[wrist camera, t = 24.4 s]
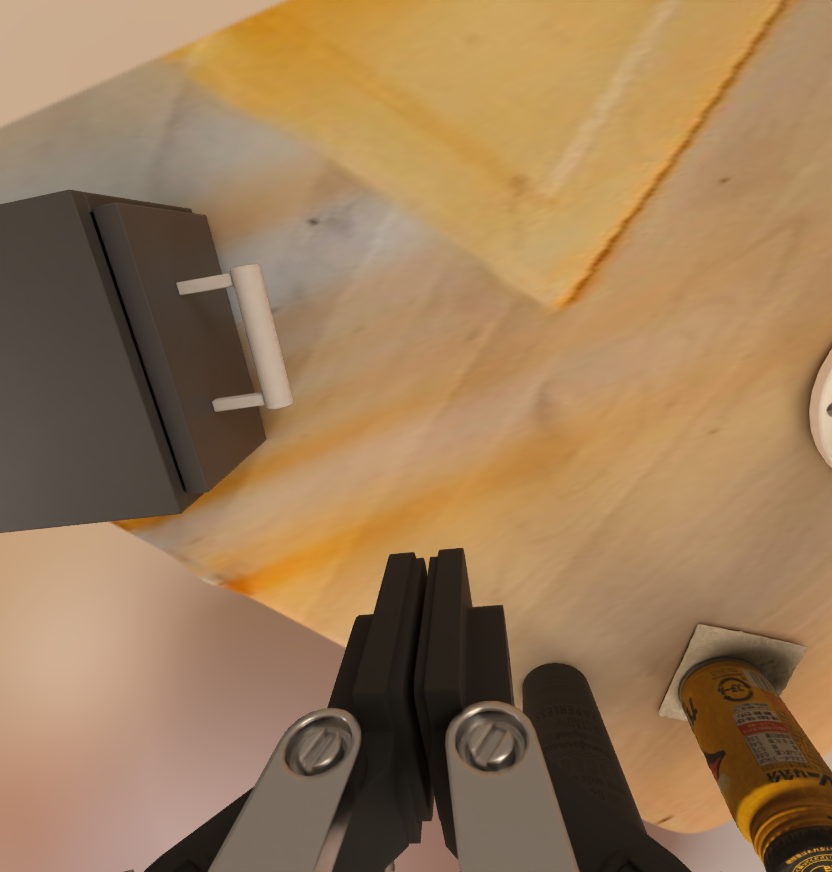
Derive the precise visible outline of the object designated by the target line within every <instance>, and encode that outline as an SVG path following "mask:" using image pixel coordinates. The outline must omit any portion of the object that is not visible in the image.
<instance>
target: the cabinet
mask: <svg viewBox="0 0 832 872" xmlns="http://www.w3.org/2000/svg"><path fill="white" fill-rule="evenodd" d="M111 203H123V204H130V205H137V206H144V207H151V208H158V209H165V210H172V211H179V212H186V213H192V210H191V209H188V208H182V207H175V206H169V205H162V204H156V203H150V202H143V201H137V200H131V199H124V198H118V197H111V196H105V195H99V194H92V193H86V192H80V191H74V190H66V191H61V192H56V193H52V194H47V195H42V196H38V197H33V198H29V199H24V200H19V201H15V202H10V203H5V204H1V205H0V533H4V532H14V531H23V530H32V529H42V528H51V527H61V526H70V525H79V524H89V523H98V522H107V521H117V520H126V519H135V518H145V517H154V516H164V515H173V514H181V513H182V512H183V511H184V510H185V509H187V508H188V506H190V505H191V504H192V503H193V502H195V501H196V500H197V499H198V498H199V497H200V496H201V495H202V494H203V493H195V494H187V491H186V488H185V485H184V482H183V479H182V476H181V473H180V470H178V471H177V470H176V467H175V464H174V461H173V458H172V455H171V452H170V449H169V446H168V443H167V440H166V437H165V434H164V432H163V429H162V426H161V423H160V420H159V417H158V414H157V411H156V408H155V405H154V402H153V399H152V396H151V393H150V390H149V387H148V384H147V381H146V378H145V375H144V372H143V369H142V366H141V363H140V360H139V357H138V354H137V351H136V348H135V345H134V342H133V339H132V336H131V333H130V330H129V327H128V325H127V322H126V319H125V316H124V313H123V310H122V307H121V304H120V301H119V298H118V295H117V292H116V289H115V286H114V283H113V280H112V277H111V274H110V271H109V268H108V265H107V262H106V259H105V256H104V253H103V250H102V247H101V244H100V241H99V238H98V235H97V232H98V233H100V231H99V228H98V225H97V222H96V219H95V216H94V213H93V210H92V208H93V207H96V206H101V205H106V204H111ZM204 493H205V492H204Z"/></svg>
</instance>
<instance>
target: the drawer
mask: <svg viewBox="0 0 832 872" xmlns="http://www.w3.org/2000/svg"><path fill="white" fill-rule="evenodd" d="M92 210H93V213H94V216H95V219H96V222H97V225H98V228H99V231H100V233H98V232H97V235H98V238H99V241H100V244H101V247H102V250H103V253H104V256H105V259H106V262H107V265H108V268H109V271H110V274H111V277H112V280H113V283H114V286H115V289H116V292H117V295H118V298H119V301H120V304H121V307H122V310H123V313H124V316H125V315H128V318H129V321H130V324H131V327H132V330H133V333H134V336H135V339H136V342H137V345H138V348H139V351H140V354H141V357H142V360H143V363H144V366H145V369H146V372H147V375H148V378H149V381H150V384H151V387H152V388H151V389H149V390H150V393H151V396H152V399H153V402H154V405H155V408H156V411H157V414H158V417H159V420H160V423H161V426H162V429H163V432H164V434H165V437H166V440H167V443H168V446H169V449H170V452H171V455H172V458H173V461H174V464H175V467H176V470H177V471H178V470H180V473H181V476H182V479H183V482H184V485H185V488H186V491H187V494H195V493H204V492H209V491H210V490H211V489H213V488H214V487H215V486H216V485H217V484H218V483H219V482H220V481H221V480H222V479H223V478H225V477H226V476H227V475H228V474H229V473H230V472H231V471H232V470H233V469H234V468H235V467H237V466H238V465H239V464H240V463H241V462H242V461H243V460H244V459H245V458H246V457H248V456H249V455H250V454H251V453H252V452H253V451H254V450H255V449H256V448H257V447H258V446H260V445H261V444H262V443H263V442H264V441H265V440H266V435H265V432H264V428H263V424H262V421H261V417H260V413H259V410H258V406H261V405H265V404H266V408H267V409H279V408H283V407H287V406H289V405H291V404H292V403H293V398H292V394H291V390H290V386H289V382H288V378H287V374H286V370H285V366H284V362H283V358H282V354H281V349H280V345H279V341H278V337H277V333H276V329H275V325H274V321H273V317H272V313H271V309H270V305H269V301H268V297H267V293H266V289H265V285H264V281H263V277H262V273H261V268H260V265H259V264H252V265H245V266H239V267H234V268H231V269H230V272H231V273H227V274H222V273H221V269H220V265H219V262H218V258H217V254H216V251H215V247H214V243H213V240H212V236H211V232H210V228H209V225H208V221H207V217H206V215H200V214H193V213H186V212H179V211H172V210H165V209H158V208H151V207H144V206H137V205H130V204H123V203H111V204H106V205H101V206H96V207H93V208H92ZM231 286H234V287H235V291H236V295H237V299H238V303H239V306H240V310H241V314H242V318H243V321H244V325H245V329H246V333H247V336H248V340H249V344H250V348H251V352H252V355H253V359H254V363H255V367H256V370H257V374H258V378H259V382H260V386H261V389H262V392H259V393H254V391H253V387H252V384H251V380H250V376H249V373H248V369H247V365H246V361H245V358H244V354H243V350H242V347H241V343H240V339H239V336H238V332H237V328H236V325H235V321H234V317H233V313H232V310H231V306H230V302H229V299H228V295H227V291H226V287H231Z"/></svg>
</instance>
